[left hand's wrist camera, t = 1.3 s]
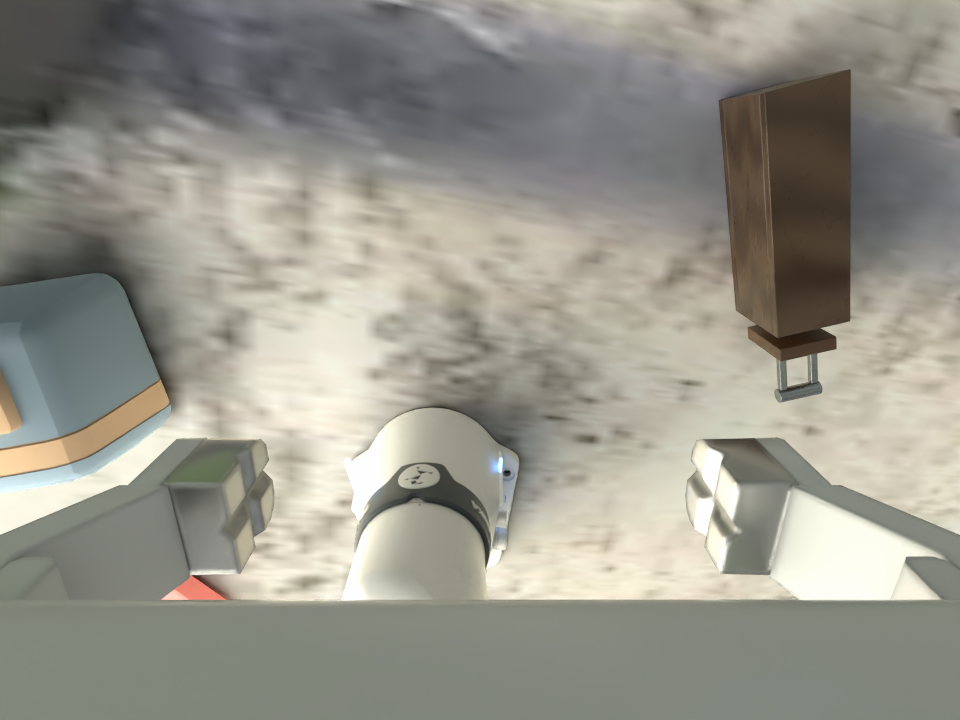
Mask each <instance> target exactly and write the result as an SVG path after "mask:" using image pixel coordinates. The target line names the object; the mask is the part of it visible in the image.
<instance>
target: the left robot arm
mask: <svg viewBox="0 0 960 720" xmlns="http://www.w3.org/2000/svg"><path fill="white" fill-rule="evenodd" d="M268 461H269V457H268V452H267V447H266V444H265V443H264V442H263V441H262V440H261V439H224V438H209V439H208V438H182V439H176V440H175V441H174V442H173V443H172V444H171V445H170V446H169V447H168V448H167V449H166V450H165V451H164V452H163V453H162V454H160V455H159V456H158V457H157V458H156V459H155V460H154V461H153V462H152V463H151V464H150V465H149V466H148V467H147V468H146V469H145V470H144V471H143V472H141V473H140V474H139V475H138V476H137V477H136V478H135V479H134V480H133V481H132V482H131V483H130V484H129V485H119V486H116V487H114V488H112V489H109V490H107V491H104V492H102V493H100V494H97V495H95V496H92V497H90V498H88V499H85V500H83V501H80V502H78V503H76V504H73V505H71V506H69V507H66V508H64V509H61V510H59V511H57V512H54V513H52V514H49V515H47V516H45V517H42V518H40V519H37V520H35V521H33V522H30V523H28V524H25V525H23V526H21V527H18V528H16V529H14V530H11V531H9V532H6V533H4V534H2V535H0V720H960V535H958V534H956V533H953V532H951V531H949V530H946V529H944V528H941V527H939V526H937V525H934V524H932V523H929V522H927V521H925V520H922V519H920V518H918V517H915V516H913V515H910V514H908V513H906V512H903V511H901V510H898V509H896V508H894V507H891V506H889V505H887V504H884V503H882V502H879V501H877V500H875V499H872V498H870V497H868V496H865V495H863V494H860V493H858V492H856V491H853V490H851V489H848V488H846V487H844V486H841V485H831V484H830V483H829V482H828V481H827V480H826V479H825V478H824V477H823V476H822V475H821V474H820V473H819V472H818V471H817V470H815V469H814V468H813V467H812V466H811V465H810V464H809V463H808V462H807V461H806V460H805V459H804V458H803V457H802V456H801V455H800V454H799V453H798V452H796V451H795V450H794V449H793V448H792V447H791V446H790V445H789V444H788V443H787V442H786V441H785V440H783V439H780V438H745V439H704V440H697V441H696V443H695V445H694V447H693V451H692V457H691V461H692V462H693V464H694V466H695V467H696V469H697V471H696V472H695V473H694V474H693V475H692V476H691V477H690V478H689V479H688V480H687V488H686V495H685V496H686V507H687V512H688V516H689V519H690V521H691V523H692V525H693V527H694V529H695V530H696V531H698V532H699V533H701V534H702V535H704V536H705V537H706V542H705V548H706V550H707V552H708V554H709V555H710V557H711V559H712V561H713V562H714V564H715V566H716V568H717V569H718V571H719V573H720V574H750V575H770V576H769V577H770V578H771V579H772V580H774V581H775V582H776V583H778V584H779V585H780V586H782V587H783V588H784V589H786V590H787V591H788V592H790V593H791V594H792V595H793V596H795V597H796V598H797V599H799V600H488V597H487V588H486V572H487V569H488V568H490V567H492V566H494V565H495V564H497V563H498V562H499V561H500V559H501V556H502V551H503V550H505V549H506V548H507V540H508V530H507V526H508V521H509V516H510V511H511V506H512V500H513V495H514V490H515V485H516V480H517V475H518V470H519V457H518V455H517V454H516V453H515V452H513V451H511V450H510V449H508V448H506V447H504V446H502V445H500V444H498V443H497V442H496V441H495V440H494V439H493V438H492V437H491V436H490V435H489V434H488V432H487V431H486V430H485V429H484V428H483V427H482V426H481V425H480V424H479V423H477V422H476V421H474V420H473V419H471V418H470V417H468V416H466V415H464V414H462V413H459V412H456V411H453V410H449V409H444V408H421V409H416V410H412V411H409V412H406V413H404V414H401V415H399V416H397V417H396V418H394V419H393V420H391V421H390V422H389V423H387V424H386V425H385V426H384V427H383V428H382V429H381V431H380V432H379V433H378V435H377V436H376V438H375V440H374V441H373V443H372V445H371V446H370V447H369V449H368V450H366V451H365V452H363V453H362V454H360V455H359V456H358V457H356V458H355V459H354V460H353V461H352V462H351V463H350V460H349V458H346V459H345V461H344V464H345V467H346V470H347V473H348V475H349V478H350V481H351V483H352V486H353V489H354V492H355V494H354V498H353V502H352V511H353V512H355V513H356V516H357V519H358V521H359V522H358V526H357V530H356V538H355V557H354V561H353V564H352V567H351V571H350V574H349V577H348V581H347V584H346V587H345V591H344V594H343V597H342V600H161V599H163V598H164V597H165V596H167V595H168V594H169V593H171V592H172V591H173V590H175V589H176V588H177V587H179V586H180V585H181V584H183V583H184V582H185V581H186V580H188V579H189V578H190V575H209V574H240V573H241V571H242V569H243V568H244V566H245V564H246V562H247V561H248V559H249V557H250V555H251V554H252V552H253V550H254V548H255V542H254V537H255V536H256V535H258V534H259V533H261V532H262V531H264V530H265V529H266V527H267V525H268V523H269V521H270V519H271V516H272V511H273V507H274V487H273V480H272V479H271V478H270V477H269V476H268V475H267V474H266V473H265V472H264V471H263V469H264V467H265V466H266V464H267V462H268ZM505 470H509V471H510V472H509V473H504V471H505Z"/></svg>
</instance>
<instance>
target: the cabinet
mask: <svg viewBox="0 0 960 720" xmlns="http://www.w3.org/2000/svg"><path fill="white" fill-rule="evenodd" d="M850 80H851V70H850V69H849V70H843V71H838V72H833V73H828V74H823V75H818V76H813V77H807V78H802V79H797V80H792V81H788V82H784V83H781V84H777V85H773V86H770V87H766V88H762V89H759V90H755V91H751V92H748V93H744V94H741V95H737V96H733V97H730V98H726V99H722V100H719V107H720V120H721V132H722V144H723V156H724V168H725V181H726V193H727V205H728V217H729V229H730V242H731V254H732V266H733V278H734V291H735V303H736V311H738V312H739V313H741V314H742V315H744V316H745V317H747V318H748V319H750V320H751V321H753V322H754V323H756V324H757V325H759V326H760V327H762V328H763V329H765V330H766V331H768V332H769V333H771V334H773V335H774V336H775V337H777V338H779V337H784V336H788V335H792V334H797V333H801V332H805V331H810V330H814V329H818V328H823V327H827V326H831V325H836V324H840V323H844V322H849V321H850Z"/></svg>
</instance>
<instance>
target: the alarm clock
mask: <svg viewBox="0 0 960 720" xmlns="http://www.w3.org/2000/svg"><path fill="white" fill-rule="evenodd" d="M159 378H160V376H159V374H158V372H157V369H156V367H155V364H154V362H153V359H152V357H151V354H150V352H149V349H148V347H147V345H146V342H145V340H144V337H143V335H142V332H141V330H140V327H139V325H138V322H137V320H136V317H135V315H134V313H133V310H132V308H131V305H130V303H129V300H128V298H127V295H126V293H125V290H124V288H123V287H122V286H121V285H120V283H119V282H118V281H117V280H116V279H114V278H112V277H110V276H109V275H107V274H103V273H91V274H83V275H77V276H70V277H63V278H57V279H50V280H43V281H37V282H30V283H23V284H17V285H10V286H3V287H0V494H1V493H7V492H14V491H20V490H26V489H32V488H38V487H44V486H49V485H54V484H60V483H65V482H71V481H74V480H76V479H79V478H82V477H84V476H87V475H90V474H92V473H95V472H96V471H98V470H100V469H101V468H103V467H104V466H106V465H108V464H109V463H111V462H113V461H114V460H116V459H117V458H119V457H120V456H121V455H123V454H124V453H126V452H127V451H129V450H130V449H131V448H133V447H134V446H136V445H137V444H138V443H140V442H141V441H142V440H143V439H145V438H146V437H147V436H149V435H150V434H151V433H152V432H154V431H155V430H156V429H158V428H159V427H160V426H161V425H163V424H164V422H165V421H166V419H167V418H168V416H169V414H170V413H171V405H170V401H169V399H168V396H167V394H166V391H165V389H164V386H163V384H162V381H161V379H159Z"/></svg>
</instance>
